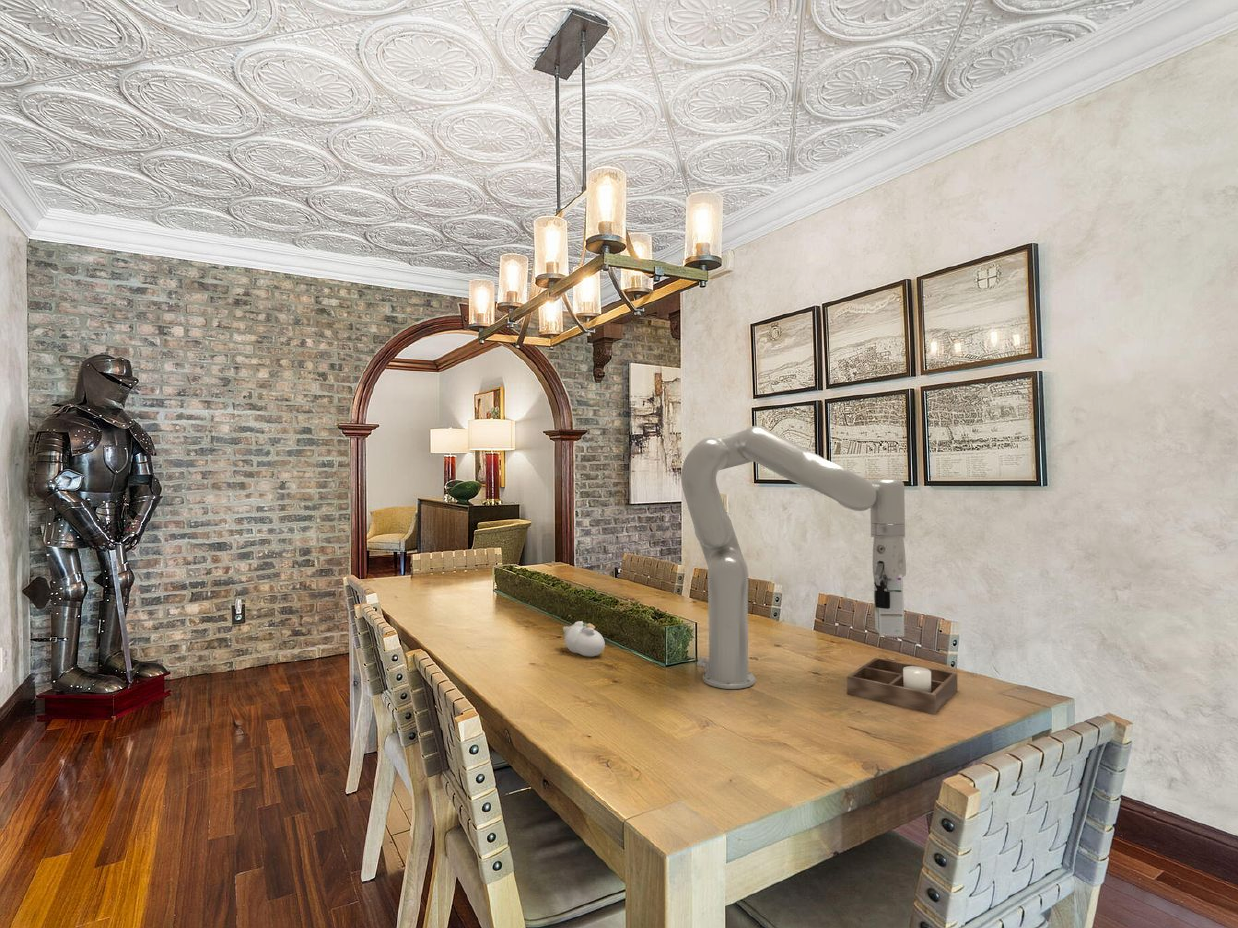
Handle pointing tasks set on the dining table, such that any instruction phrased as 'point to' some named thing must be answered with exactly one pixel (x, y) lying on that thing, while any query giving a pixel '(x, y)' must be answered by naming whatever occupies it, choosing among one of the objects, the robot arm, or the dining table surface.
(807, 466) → the robot arm
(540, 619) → the dining table surface
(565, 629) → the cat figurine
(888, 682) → the tray
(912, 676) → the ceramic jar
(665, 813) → the dining table surface
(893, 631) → the grey tall block
